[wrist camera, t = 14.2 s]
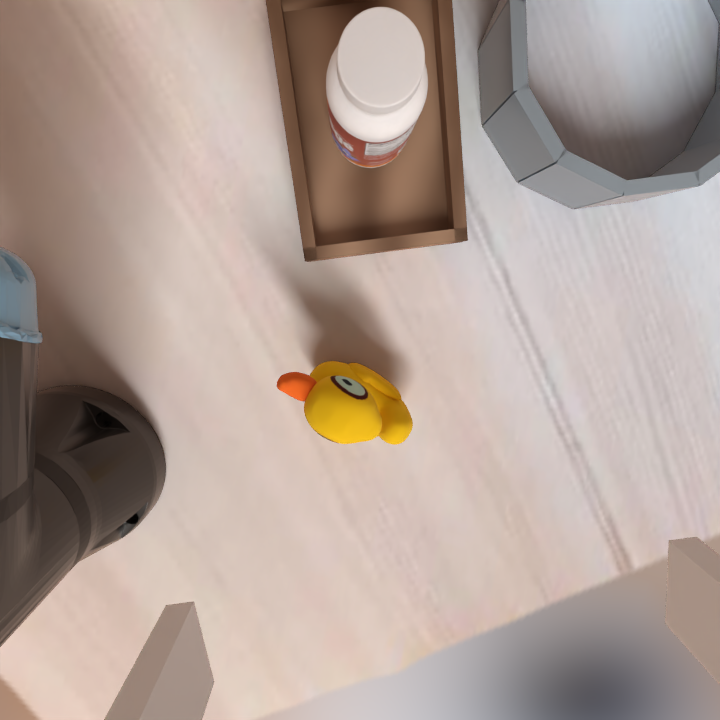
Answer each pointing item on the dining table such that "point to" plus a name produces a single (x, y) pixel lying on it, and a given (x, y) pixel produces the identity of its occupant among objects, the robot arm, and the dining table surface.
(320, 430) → the duckling
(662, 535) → the dining table surface
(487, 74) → the grey ringed piece
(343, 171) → the tray
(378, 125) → the pill bottle
